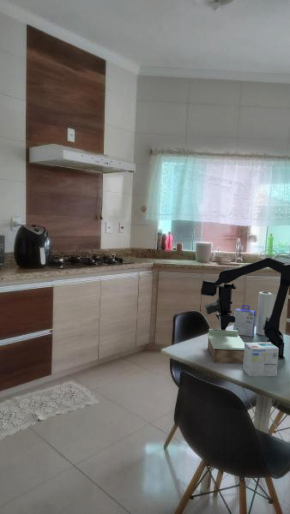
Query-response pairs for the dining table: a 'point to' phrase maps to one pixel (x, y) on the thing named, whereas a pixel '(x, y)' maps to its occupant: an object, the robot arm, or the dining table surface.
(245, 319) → the ink cartridge box
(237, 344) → the lid
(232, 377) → the dining table surface
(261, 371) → the light bulb box
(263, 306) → the paper towel roll
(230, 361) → the box
